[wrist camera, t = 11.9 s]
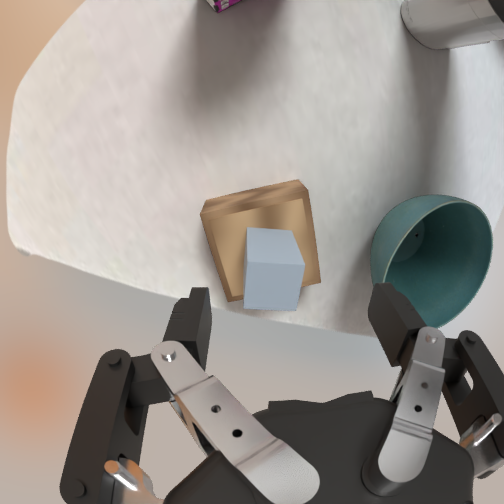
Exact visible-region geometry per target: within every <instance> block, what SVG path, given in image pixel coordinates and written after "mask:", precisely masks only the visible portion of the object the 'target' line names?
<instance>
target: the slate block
mask: <svg viewBox="0 0 504 504" xmlns="http://www.w3.org/2000/svg"><path fill="white" fill-rule="evenodd" d="M304 269H305V263H304V260H303V258H302V255H301V253H300V250H299V248H298V245H297V243H296V240H295V238H294V235H293V233H292V230H279V229H266V228H252V227H247V231H246V243H245V255H244V269H243V309H259V310H283V311H296V308H297V304H298V299H299V294H300V289H301V285H302V280H303V275H304Z"/></svg>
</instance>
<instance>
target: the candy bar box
mask: <svg viewBox="0 0 504 504" xmlns="http://www.w3.org/2000/svg"><path fill="white" fill-rule="evenodd" d="M206 1H207V2H208V3H209V4H210V5H211V6H212V8H213V9H214V10H215V11H216V12H217V13H219V12H221V11H222V10H224V9H226V8H228V7H230V6H232V5H234V4H236V3H238V2H240V1H242V0H206Z"/></svg>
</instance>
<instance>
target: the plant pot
mask: <svg viewBox="0 0 504 504" xmlns="http://www.w3.org/2000/svg"><path fill="white" fill-rule="evenodd" d="M416 233H418V236H417V237H416V236H415V235H416ZM492 236H493V235H492V230H491V226H490V223H489V220H488V218H487V217H486V215H485V213H484V212H483V211H482V210H481V209H480V208H479V207H478V206H476V205H475V204H473V203H471V202H469V201H466V200H463V199H460V198H457V197H452V196H446V195H425V196H419V197H415V198H412V199H409V200H407V201H405V202H403V203H401V204H399V205H398V206H396V207H395V208H393V209H392V210H391V211H390V212H389V213H388V214H387V215H386V216H385V217H384V219H383V220H382V222H381V223H380V225H379V227H378V229H377V231H376V233H375V236H374V239H373V243H372V248H371V258H370V264H371V276H372V282H373V287H374V285H375V284H376V283H386V282H390V283H391V284H392V285H393V286H394V288H395V289H396V290H397V292H398V291H399V292H401V293H402V294H403V295H405V296H406V297H407V298H408V299H409V301H410V302H411V303H412V304H411V305H413V306H414V308H415V310H416V311H417V312H418V313H419V315H420V316H421V318H422V319H423V321H424V322H425V324H426V325H427V327H434V328H436V329H438V328H440V327H442V326H444V325H445V324H447V323H448V322H450V321H451V320H453V319H454V318H455V317H456V316H457V315H459V314H460V313H461V312H462V311H463V310H464V309H465V308H466V307H467V306H468V305H469V303H470V302H471V301H472V300H473V298H474V297H475V295H476V294H477V292H478V291H479V289H480V287H481V285H482V283H483V281H484V279H485V277H486V274H487V272H488V269H489V266H490V262H491V257H492V250H493V237H492Z"/></svg>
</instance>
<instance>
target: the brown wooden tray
mask: <svg viewBox="0 0 504 504" xmlns="http://www.w3.org/2000/svg"><path fill="white" fill-rule="evenodd" d="M200 217H201V220H202V223H203V226H204V230H205V233H206V236H207V239H208V242H209V246H210V249H211V252H212V255H213V258H214V261H215V264H216V267H217V271H218V274H219V277H220V280H221V283H222V286H223V289H224V292H225V295H226V298H227V301H228V302H232V301H237V300H242V299H243V269H244V255H245V243H246V231H247V227H252V228H266V229H279V230H292V233H293V235H294V238H295V240H296V243H297V245H298V248H299V250H300V253H301V255H302V258H303V260H304V263H305V269H304V275H303V280H302V285H301V287H304V286H308V285H313V284H317V283H321V278H320V270H319V261H318V253H317V246H316V239H315V231H314V225H313V218H312V211H311V205H310V199H309V193H308V190H307V188H306V187H305V186H304V185H303V184H302V183H301V182H300V181H299V180H293V181H288V182H283V183H278V184H273V185H269V186H264V187H260V188H255V189H251V190H246V191H242V192H237V193H233V194H229V195H225V196H221V197H217V198H213V199H209V200H206V201H205V204H204V206H203V208H202V210H201V213H200Z"/></svg>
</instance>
